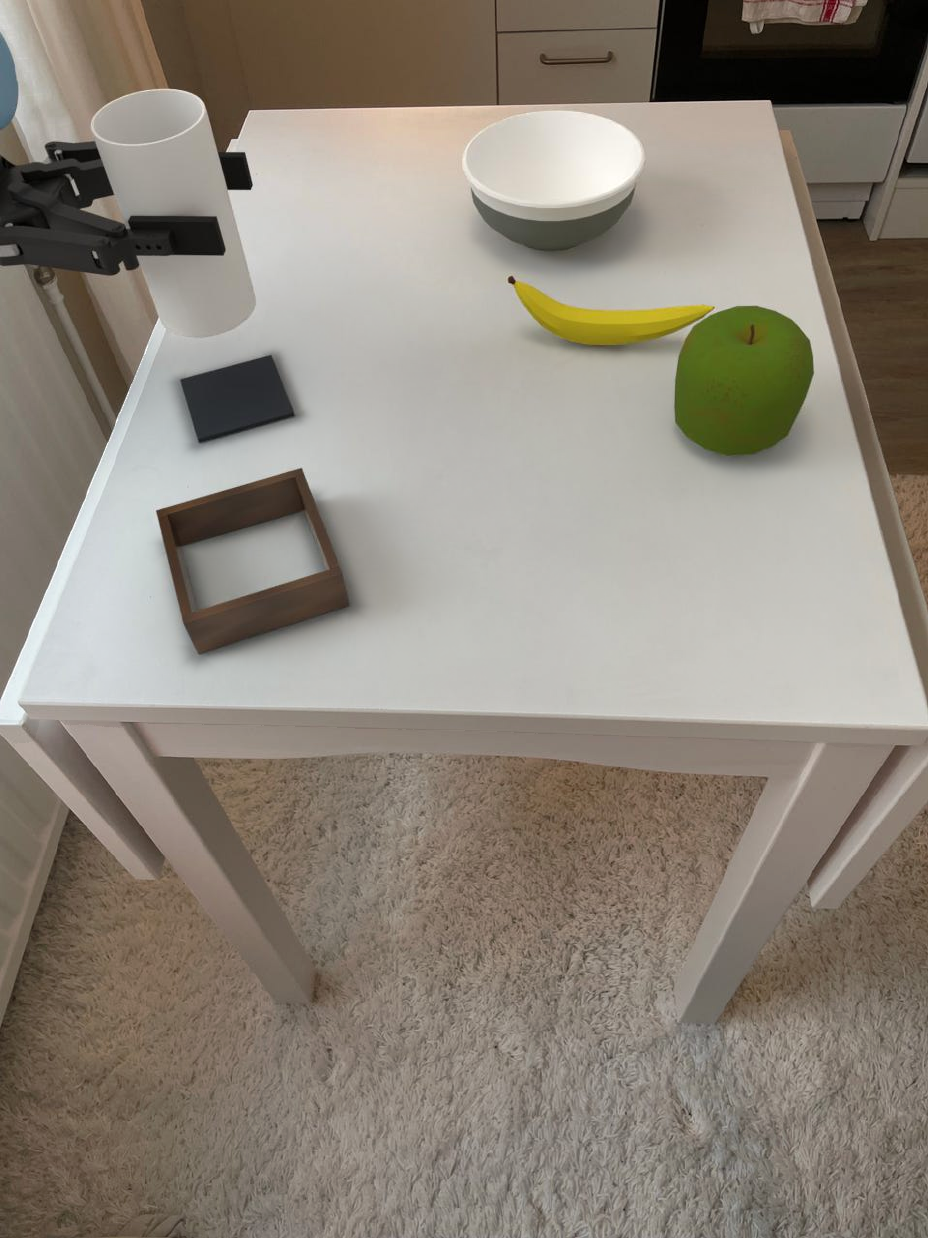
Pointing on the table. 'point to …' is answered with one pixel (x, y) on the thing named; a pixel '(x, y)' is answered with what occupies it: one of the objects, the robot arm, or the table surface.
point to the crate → (264, 606)
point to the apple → (742, 380)
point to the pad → (236, 398)
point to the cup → (176, 205)
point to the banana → (605, 319)
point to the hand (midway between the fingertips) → (234, 202)
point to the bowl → (553, 176)
